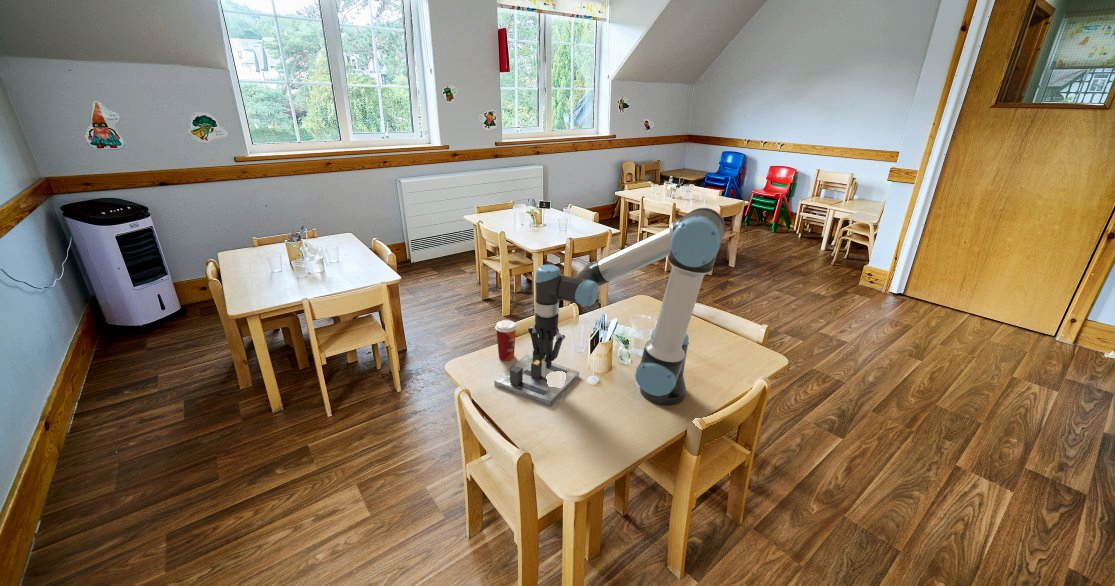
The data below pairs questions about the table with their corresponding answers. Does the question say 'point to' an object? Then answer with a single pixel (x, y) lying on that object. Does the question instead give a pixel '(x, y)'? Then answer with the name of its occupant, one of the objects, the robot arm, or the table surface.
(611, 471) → the table surface
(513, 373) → the block
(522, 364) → the panel
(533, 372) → the block
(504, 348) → the paper cup
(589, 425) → the table surface
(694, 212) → the robot arm
